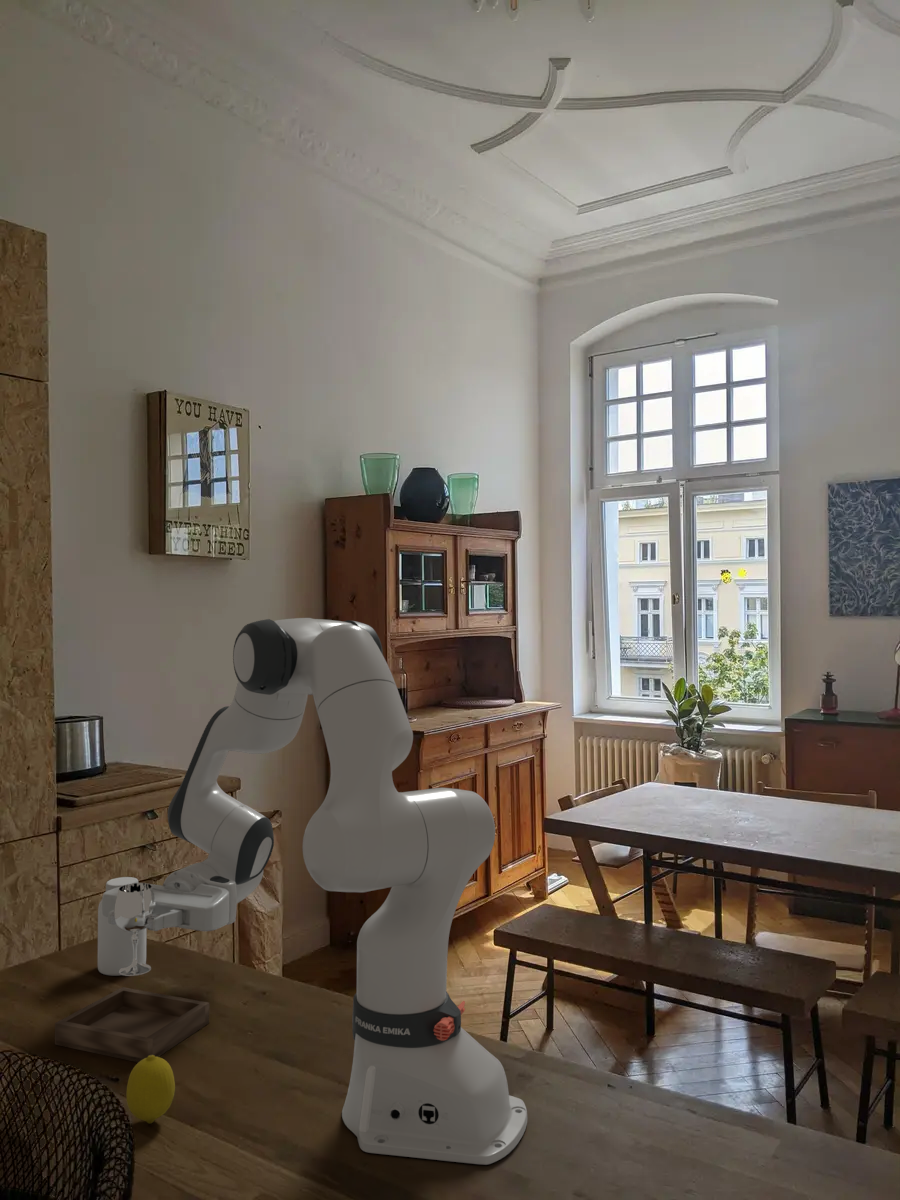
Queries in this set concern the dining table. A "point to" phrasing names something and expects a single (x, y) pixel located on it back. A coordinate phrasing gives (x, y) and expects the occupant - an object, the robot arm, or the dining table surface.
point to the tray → (132, 1024)
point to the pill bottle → (117, 939)
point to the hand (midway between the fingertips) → (131, 922)
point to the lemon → (150, 1088)
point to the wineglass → (134, 918)
